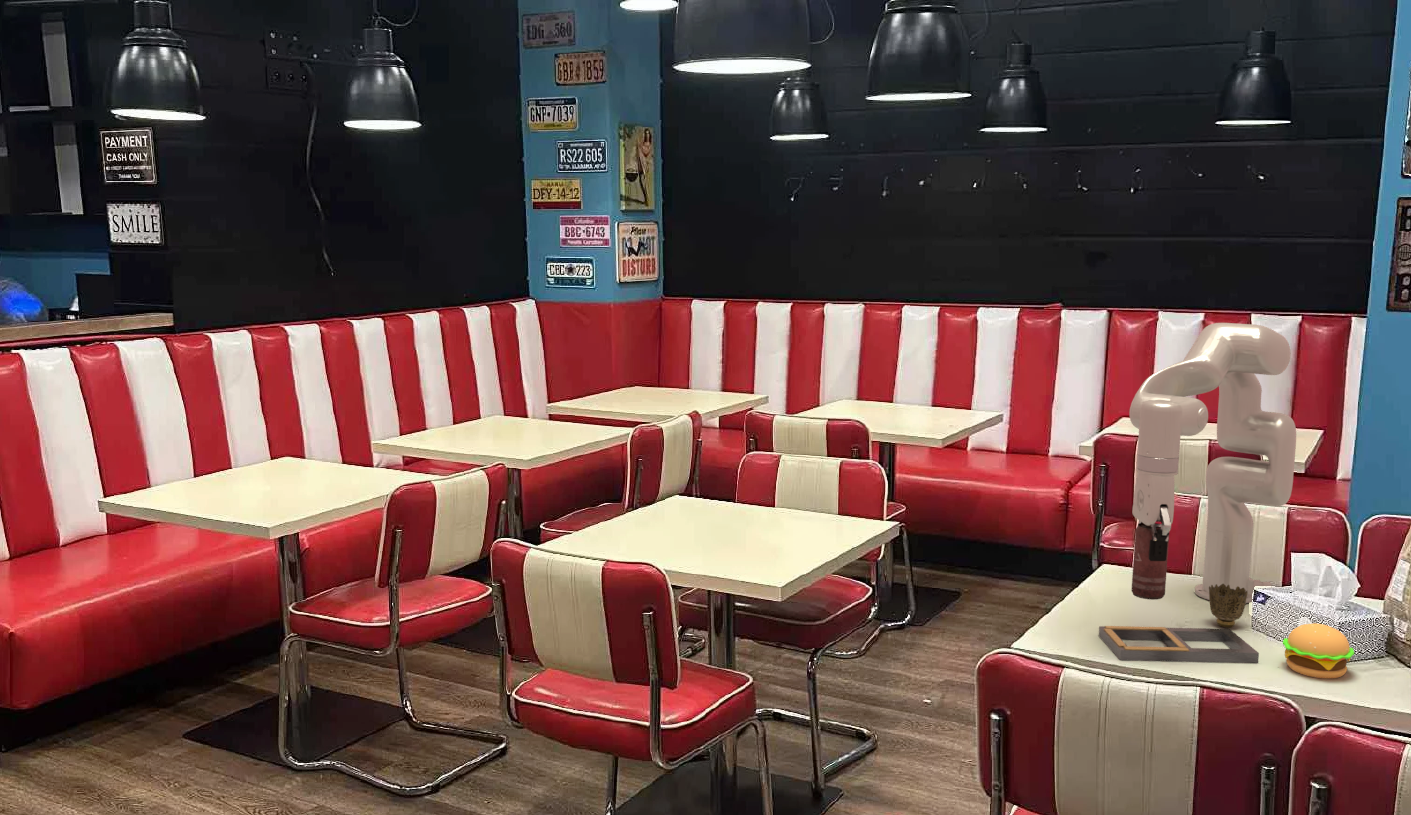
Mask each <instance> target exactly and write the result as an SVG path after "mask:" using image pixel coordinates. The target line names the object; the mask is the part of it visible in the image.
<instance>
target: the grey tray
mask: <svg viewBox="0 0 1411 815" xmlns="http://www.w3.org/2000/svg"><path fill="white" fill-rule="evenodd" d="M1098 637H1099V638H1100V639H1101V641H1102V642H1103V643H1104V644H1105V645H1106V646H1107V647H1108V649H1110V651H1111V652H1112V653H1113V654H1114V655H1115V657H1117V659H1118V660H1119V661H1139V662H1182V663H1183V662H1186V663H1189V662H1190V663H1191V662H1193V663H1235V664H1236V663H1238V664H1239V663H1242V664H1259V654H1260V653H1259V652H1258V651H1257V650H1256V649H1254V647H1252V646H1251V645H1250V644H1249V643H1247V642H1246V641H1245V640H1243V639H1242V638H1241V637H1240V636H1239V635H1238V634H1236V633H1235V631H1232V629H1230V628H1207V627H1206V628H1203V627H1200V628H1199V627H1198V628H1197V627H1192V628H1191V627H1165V626H1128V625H1127V626H1126V625H1125V626H1124V625H1123V626H1122V625H1104V626H1103V625H1102V626H1101V625H1100V626H1099V627H1098ZM1123 640H1124V641H1125V640H1126V641H1127V640H1128V641H1129V640H1130V641H1135V640H1136V641H1162V642H1163V643H1164V644H1165V645H1166V646H1128V644H1126V642H1124V641H1123ZM1186 642H1223V644H1225V645H1226V646H1227V647H1228V648H1210V647H1209V648H1206V647H1205V648H1203V647H1201V648H1200V647H1191V646H1190V645H1188V643H1186Z"/></svg>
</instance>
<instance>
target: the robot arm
mask: <svg viewBox="0 0 1411 815" xmlns="http://www.w3.org/2000/svg"><path fill="white" fill-rule="evenodd" d="M1290 360H1291V346H1290V344H1289V342H1288V340H1287V338H1286V337H1285V336H1284V335H1283V334H1280V333H1279V332H1277V331H1275V330H1274V329H1272V328H1270V327H1267V326H1264V325H1261V324H1253V323H1252V324H1251V323H1250V324H1249V323H1234V322H1233V323H1231V322H1214V323H1211V324H1209V325H1207V326H1205V327H1204V328H1203V329H1202V330H1201V332H1200V333H1199V334H1198V336H1197V337H1196V339H1195V341H1194V343H1193V344H1192V346H1191V347H1190V348H1189V350H1188V352H1187V353H1186V355H1185V357H1184V359H1183V360H1181V361H1179V362H1176V363H1173V364H1171V365H1168V366H1167V367H1165V368H1163V369H1161V370H1158V371H1157V372H1154V373H1153V374H1151V375H1149V376H1148V377H1147V378H1146V379H1145V380H1144V381H1143V383H1142V384H1141V385H1140V387H1139V389H1138V390H1137V391H1136V393H1135V394H1134V397H1133V398H1132V401H1131V403H1130V407H1129V421H1130V422H1131V425H1133V426H1134V427H1135V428H1136V429H1138V439H1137V457H1136V468H1135V469H1136V470H1135V471H1136V472H1137V473H1136V479H1135V485H1134V492H1133V501H1132V502H1133V503H1132V516H1133V517H1134V518H1136V519H1137V520H1138V523H1137V525H1138V524H1139V523H1144V524H1145V525H1147V526H1150V525H1151V532H1152V540H1150V546H1149V560H1150V561H1166V558H1167V544H1168V535H1169V536H1170V531H1171V530H1172V524H1173V521H1174V513H1175V476H1177V475H1178V474H1179V466H1180V465H1179V463H1180V461H1179V460H1180V449H1181V448H1180V447H1181V437H1182V436H1183V437H1185V436H1186V437H1192V436H1196V435H1198V434H1199V433H1201V432H1202V431H1203V430H1204V429H1205V427H1206V426H1207V424H1208V421H1209V411H1208V407H1207V405H1206V404H1205V403H1204V402H1203V401H1202V400H1200V399H1199V398H1195V397H1191V396H1196V395H1201V394H1206V393H1210V392H1212V391H1214V390H1215V389H1217V388H1218V389H1219V390H1218V394H1219V395H1218V405H1217V406H1218V408H1217V421H1216V423H1217V424H1216V440H1217V444H1218V446H1219V447H1220V448H1222V449H1224V450H1226V451H1231V452H1235V453H1236V452H1237V453H1241V454H1242V453H1244V454H1251V455H1257V456H1265V457H1266V458H1267V460H1268V461H1266V460H1258V459H1251V458H1244V457H1236V456H1235V457H1234V456H1221V457H1220V456H1219V457H1217V458H1215V459H1213V460H1211V461H1210V463H1209V464H1208V465H1207V468H1206V471H1205V482H1206V483H1205V484H1206V493H1207V520H1206V534H1205V546H1204V548H1205V549H1204V557H1203V558H1204V559H1203V572H1202V583H1200V584H1197V585H1195V587H1194V594H1195V595H1197V596H1198V597H1200V598H1202V599H1205V600H1207V601H1210V600H1209V586H1210V587H1211V585H1213V587H1215V585H1216V584H1217V586H1218V587H1219V586H1220V585H1221V584H1225V585H1226V587H1227V585H1230V588H1231V589H1235V590H1236V587H1237V586H1238V587H1240V589H1241V588H1244V589H1245V590H1246V591H1247V592H1248V594H1247V599H1246V603H1245V604H1250V603H1253V602H1252V600H1253V599H1252V593H1253V592H1254V591H1253V590H1254V587H1255V586H1271V587H1272V583H1271V581H1261V580H1260V579H1253V578H1251V577H1250V575H1251V574H1250V573H1251V572H1250V571H1251V562H1252V561H1251V560H1252V548H1253V547H1252V546H1253V536H1254V519H1253V516H1252V514H1251V512H1250V510H1249V508H1248V507H1247V505H1246V503H1249V504H1255V505H1262V506H1269V507H1282V506H1285V505H1286V504H1287V503H1288V502H1289V500H1290V499H1291V497H1292V491H1293V485H1294V484H1293V483H1294V472H1295V458H1296V447H1297V428H1296V423H1295V421H1294V420H1293V418H1292V417H1291V416H1290V415H1288V414H1285V413H1281V412H1273V411H1264V410H1263V409H1262V407H1261V406H1262V393H1263V390H1262V385H1261V383H1260V380H1259V378H1258V377H1257V376H1256V375H1264V376H1265V375H1266V376H1278V375H1281V374H1282V373H1284V371H1285V370H1286V369H1287V368H1288V367H1289V364H1290V362H1291V361H1290ZM1159 522H1161V523H1159ZM1155 523H1158V524H1155ZM1156 528H1161V529H1159V530H1158V531H1157V533H1156ZM1168 545H1169V544H1168ZM1167 559H1168V558H1167Z"/></svg>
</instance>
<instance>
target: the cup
mask: <svg viewBox="0 0 1411 815" xmlns="http://www.w3.org/2000/svg"><path fill="white" fill-rule="evenodd" d="M1247 594H1248V592H1247V591H1246V590H1245V589H1244V588H1241V589H1240V587H1238V586H1237V587H1236V590H1235V589H1231V588H1230V585H1227V587H1226V585H1225V584H1221V585H1220V586H1219V587H1218V586H1217V584H1216V585H1215V587H1213V585H1211V587H1210V586H1209V600H1208V601H1209V607H1210V608H1209V609H1210V612H1211V614H1212V615H1213V616H1214V617H1215V618H1216V621H1215V622H1216V624H1217V625H1218V626H1219V627H1221V628H1224V629H1230V628H1234V627H1235V625H1236V621H1237V620H1239V619H1240V618H1241V617H1242V615H1243V614H1244V611H1245V607H1246V604H1247V603H1246V599H1247Z"/></svg>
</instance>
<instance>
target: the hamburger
mask: <svg viewBox="0 0 1411 815" xmlns="http://www.w3.org/2000/svg"><path fill="white" fill-rule="evenodd" d="M1282 645H1284V647H1285V650H1284V658H1285V659H1286V663H1287V665H1288V667H1289V668H1290V669H1291V670H1292V671H1294V672H1296V673H1298V674H1300V675H1303V676H1307V677H1311V678H1317V679H1327V680H1328V679H1329V680H1330V679H1338V678H1340V677H1343V676H1344V675H1345V674H1346V673H1347V671H1348V667H1347V664H1348V662H1350V661H1351V657H1353V656H1355V650H1354V648H1353V647H1350V643H1349V641H1348V639H1347V637H1346V635H1344V634H1343V632H1341V631H1340V630H1339V629H1337V628H1334V627H1332V626H1330V625H1327V624H1322V623H1316V622H1315V623H1314V622H1313V623H1306V624H1301V625H1299V626H1297V627H1295V628H1293V629H1292V631H1291V632H1290V633H1289V634H1288V637H1284V639H1283V640H1282Z"/></svg>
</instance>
